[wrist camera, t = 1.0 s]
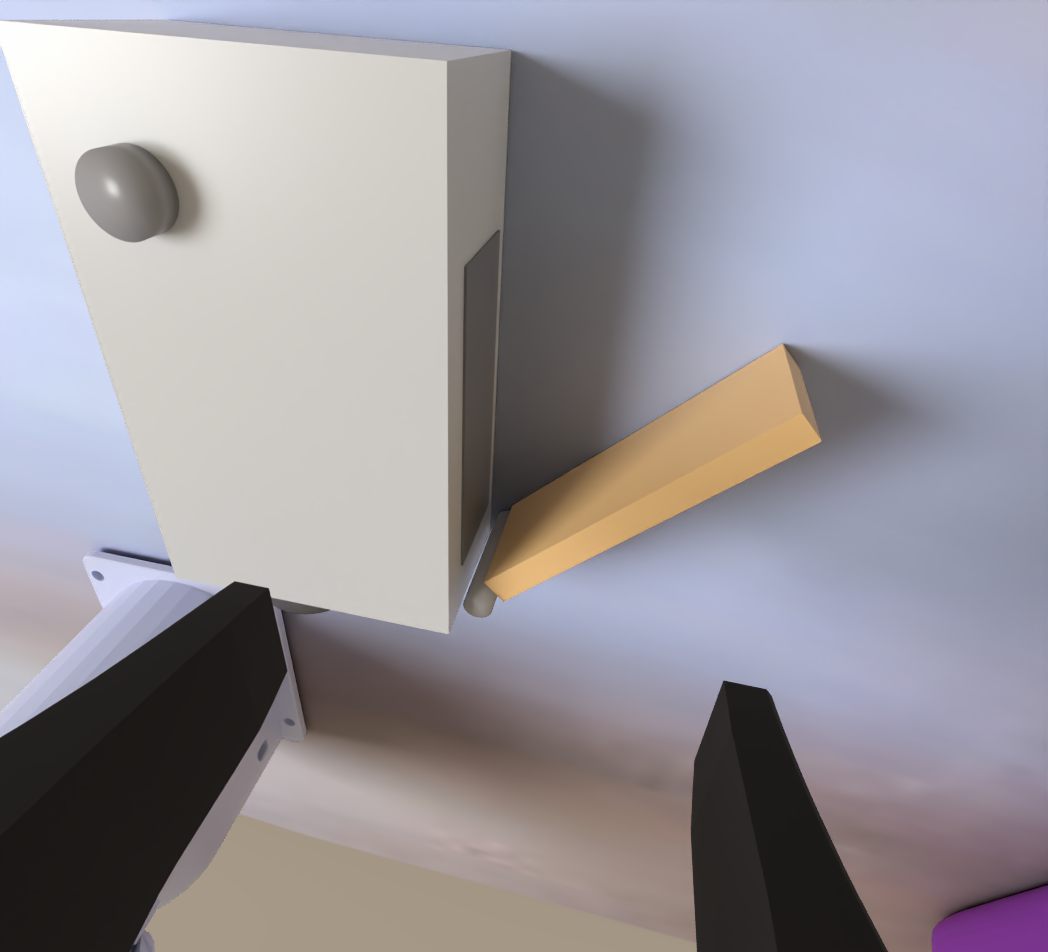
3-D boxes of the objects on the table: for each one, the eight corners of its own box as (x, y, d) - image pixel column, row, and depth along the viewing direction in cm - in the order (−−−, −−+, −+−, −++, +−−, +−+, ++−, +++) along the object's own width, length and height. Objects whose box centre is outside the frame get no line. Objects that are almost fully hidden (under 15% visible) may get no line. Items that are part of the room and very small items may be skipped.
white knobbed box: (490, 557, 22) (444, 681, 18) (265, 514, 23) (172, 622, 19) (514, 50, 14) (438, 63, 10) (163, 19, 15) (-39, 19, 11)
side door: (508, 534, 21) (477, 621, 18) (491, 517, 21) (457, 602, 18) (799, 368, 16) (824, 449, 13) (782, 343, 16) (803, 419, 13)
